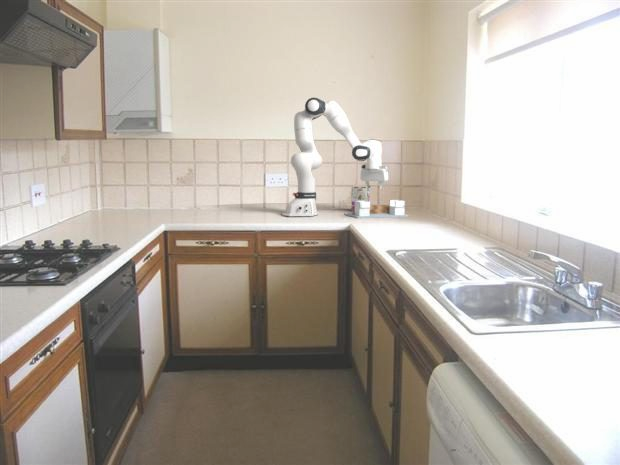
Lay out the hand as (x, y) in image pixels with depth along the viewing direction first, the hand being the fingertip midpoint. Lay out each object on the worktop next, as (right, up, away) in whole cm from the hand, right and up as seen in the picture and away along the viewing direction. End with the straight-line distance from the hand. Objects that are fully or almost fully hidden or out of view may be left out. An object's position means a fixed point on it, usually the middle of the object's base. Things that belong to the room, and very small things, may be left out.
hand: (374, 188), depth 331 cm
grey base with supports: (+1, -17, -1) cm, 17 cm away
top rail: (0, -15, +2) cm, 16 cm away
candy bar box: (-7, -14, +20) cm, 25 cm away
